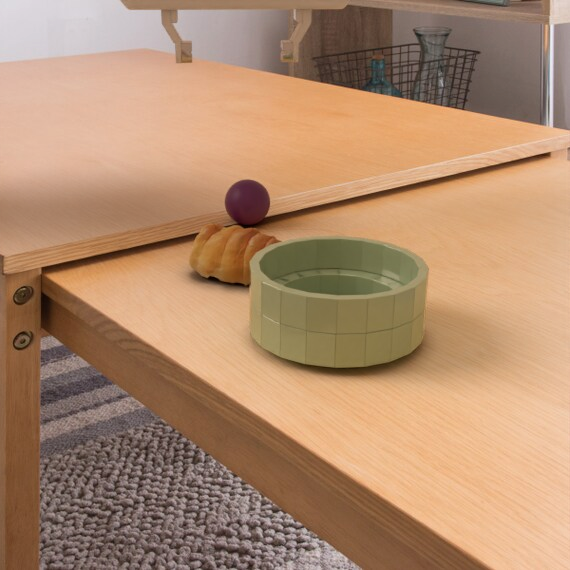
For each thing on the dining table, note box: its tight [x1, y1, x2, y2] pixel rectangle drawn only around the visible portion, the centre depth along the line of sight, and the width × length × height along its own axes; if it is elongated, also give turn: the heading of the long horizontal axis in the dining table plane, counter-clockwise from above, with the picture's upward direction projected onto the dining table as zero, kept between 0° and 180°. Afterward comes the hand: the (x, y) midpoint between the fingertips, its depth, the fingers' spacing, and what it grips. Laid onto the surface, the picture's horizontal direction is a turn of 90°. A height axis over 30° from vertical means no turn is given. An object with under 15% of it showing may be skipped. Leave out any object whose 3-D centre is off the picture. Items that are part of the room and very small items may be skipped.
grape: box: [224, 178, 271, 226], centre depth 90 cm, size 4×4×4 cm
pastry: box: [188, 222, 283, 286], centre depth 77 cm, size 9×7×4 cm
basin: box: [248, 235, 430, 369], centre depth 66 cm, size 12×12×6 cm
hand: (237, 62), depth 83 cm, fingers open, 8 cm apart
